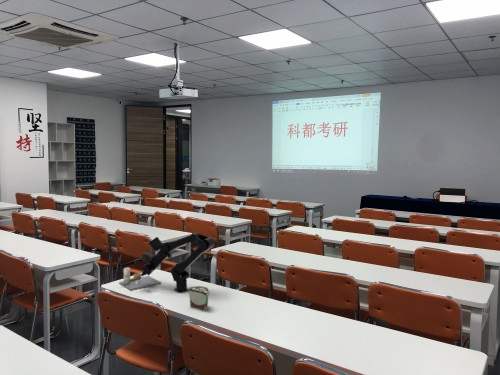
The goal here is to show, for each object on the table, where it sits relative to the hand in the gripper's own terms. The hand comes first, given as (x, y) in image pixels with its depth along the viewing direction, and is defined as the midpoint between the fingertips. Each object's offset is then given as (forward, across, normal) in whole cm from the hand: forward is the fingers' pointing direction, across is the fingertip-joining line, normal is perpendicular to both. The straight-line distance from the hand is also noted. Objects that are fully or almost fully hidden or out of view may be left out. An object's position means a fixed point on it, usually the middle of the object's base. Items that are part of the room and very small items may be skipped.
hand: (141, 275), depth 226 cm
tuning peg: (+9, -5, -2) cm, 10 cm away
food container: (-24, +27, +34) cm, 50 cm away
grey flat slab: (+6, -4, +3) cm, 8 cm away
